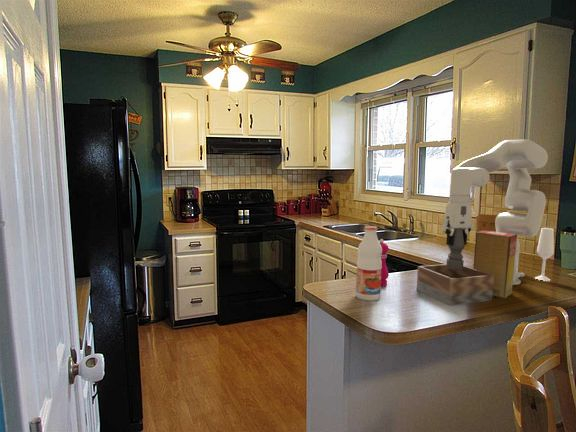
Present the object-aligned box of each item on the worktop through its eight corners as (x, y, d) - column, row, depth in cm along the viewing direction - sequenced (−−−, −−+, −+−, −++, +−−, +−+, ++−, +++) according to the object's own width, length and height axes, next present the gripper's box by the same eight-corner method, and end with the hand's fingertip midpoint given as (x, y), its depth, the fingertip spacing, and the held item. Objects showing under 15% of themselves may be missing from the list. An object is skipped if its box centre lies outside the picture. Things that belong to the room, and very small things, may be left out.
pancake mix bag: (513, 272, 199) (518, 216, 195) (471, 266, 209) (475, 213, 206) (514, 269, 204) (519, 215, 201) (474, 263, 215) (478, 212, 211)
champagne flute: (546, 282, 182) (552, 230, 180) (531, 278, 188) (536, 228, 185) (553, 279, 186) (559, 229, 183) (538, 276, 192) (543, 227, 189)
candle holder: (458, 270, 156) (462, 206, 153) (443, 267, 161) (447, 205, 157) (465, 268, 160) (470, 206, 157) (451, 265, 164) (455, 204, 161)
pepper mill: (375, 280, 179) (377, 236, 177) (390, 284, 175) (393, 239, 172) (368, 284, 174) (370, 239, 171) (383, 287, 169) (385, 241, 167)
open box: (455, 285, 174) (456, 263, 173) (492, 300, 156) (494, 275, 154) (416, 289, 168) (417, 266, 166) (450, 305, 149) (452, 279, 148)
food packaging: (512, 293, 164) (518, 233, 161) (505, 298, 158) (510, 236, 154) (479, 286, 174) (483, 229, 170) (470, 291, 167) (475, 232, 164)
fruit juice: (367, 292, 163) (370, 224, 160) (385, 298, 156) (388, 227, 152) (350, 296, 158) (353, 225, 154) (368, 302, 150) (371, 229, 147)
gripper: (469, 198, 163) (466, 242, 165) (435, 198, 157) (432, 244, 160) (484, 200, 156) (480, 245, 158) (448, 200, 150) (445, 247, 153)
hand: (456, 244), depth 159 cm, fingers closed on candle holder, 5 cm apart
